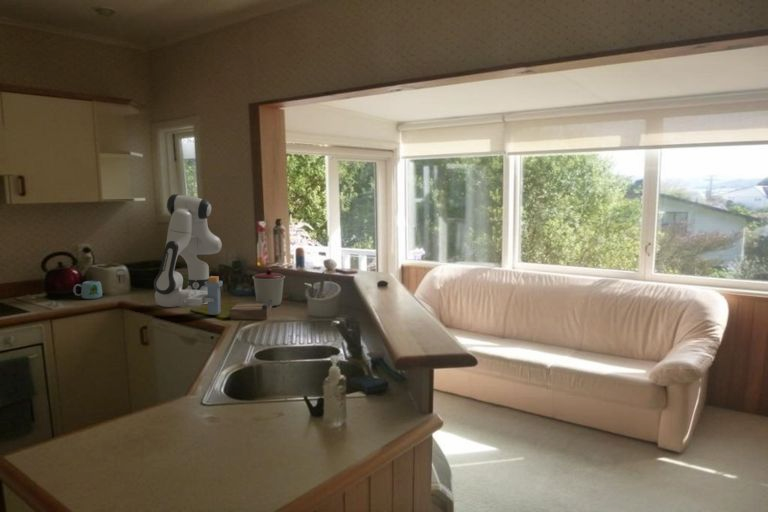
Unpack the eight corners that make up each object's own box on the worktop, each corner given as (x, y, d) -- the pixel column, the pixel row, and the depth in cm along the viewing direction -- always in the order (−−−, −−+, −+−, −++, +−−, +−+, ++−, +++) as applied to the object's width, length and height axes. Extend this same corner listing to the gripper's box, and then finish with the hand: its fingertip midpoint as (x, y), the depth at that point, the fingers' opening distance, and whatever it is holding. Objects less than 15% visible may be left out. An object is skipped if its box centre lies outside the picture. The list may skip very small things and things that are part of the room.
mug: (75, 301, 291) (74, 284, 290) (72, 298, 299) (71, 282, 298) (104, 298, 301) (103, 282, 300) (100, 295, 309) (99, 279, 308)
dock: (238, 312, 268) (237, 299, 267) (272, 312, 269) (272, 299, 268) (230, 319, 252) (230, 305, 251) (266, 319, 253) (266, 305, 252)
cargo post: (209, 311, 263) (208, 280, 261) (223, 311, 263) (222, 280, 261) (205, 314, 256) (204, 282, 254) (219, 314, 256) (218, 283, 254)
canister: (277, 309, 277) (277, 271, 274) (247, 307, 280) (246, 270, 278) (290, 302, 294) (289, 267, 292) (261, 301, 298) (260, 266, 296)
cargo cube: (211, 283, 260) (210, 276, 259) (218, 283, 260) (218, 276, 259) (208, 285, 256) (208, 277, 255) (216, 285, 256) (216, 277, 255)
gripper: (181, 296, 247) (209, 296, 248) (194, 288, 268) (221, 288, 268) (181, 308, 248) (209, 309, 249) (195, 300, 269) (221, 300, 269)
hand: (215, 298), depth 259 cm, fingers closed on cargo post, 5 cm apart
